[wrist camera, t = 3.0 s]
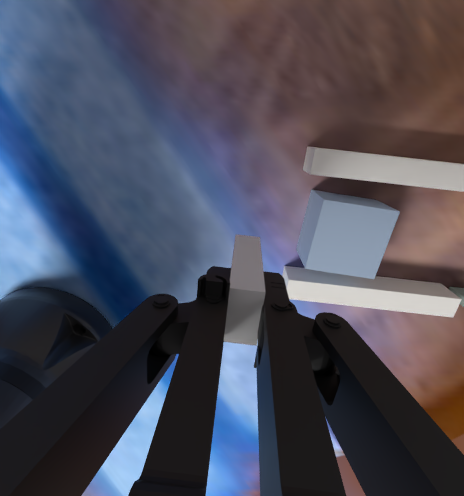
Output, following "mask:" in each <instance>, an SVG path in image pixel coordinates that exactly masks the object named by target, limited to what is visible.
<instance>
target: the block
mask: <svg viewBox="0 0 464 496" xmlns="http://www.w3.org/2000/svg"><path fill="white" fill-rule="evenodd" d="M399 213H400V211H398V210H396V209H394V208H392V207H390V206H388V205H386V204H384V203H382V202H380V201H378V200H375V199H369V198H362V197H356V196H350V195H343V194H337V193H331V192H324V191H318V190H311V193H310V197H309V201H308V205H307V209H306V213H305V217H304V221H303V225H302V229H301V233H300V237H299V241H298V245H297V248H296V250H297V252H298V254H299V257H300V259H301V261H302V263H303V265H304V268H305V269H310V270H316V271H323V272H329V273H336V274H343V275H349V276H356V277H362V278H369V279H374V278H375V276H376V273H377V271H378V268H379V265H380V263H381V260H382V257H383V255H384V252H385V250H386V247H387V244H388V242H389V239H390V237H391V234H392V231H393V229H394V226H395V224H396V221H397V218H398V216H399Z"/></svg>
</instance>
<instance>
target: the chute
mask: <svg viewBox="0 0 464 496" xmlns="http://www.w3.org/2000/svg"><path fill="white" fill-rule="evenodd" d="M303 170H304V171H305V172H307V173H308V174H311V175H319V176H328V177H337V178H346V179H355V180H364V181H373V182H382V183H391V184H399V185H408V186H417V187H426V188H435V189H444V190H453V191H462V192H464V164H460V163H451V162H443V161H434V160H425V159H416V158H407V157H398V156H389V155H380V154H371V153H363V152H354V151H345V150H336V149H327V148H318V147H309V146H307V151H306V156H305V161H304V166H303ZM282 277H283V278H284V280H285V285H286V289H287V293H288V297H289V299H294V300H303V301H312V302H321V303H330V304H339V305H347V306H356V307H365V308H374V309H383V310H392V311H401V312H410V313H419V314H428V315H436V316H445V317H454V314H455V312H456V310H457V308H458V306H459V304H460V302H461V300H462V299H461V298H459V297H458V296H457V295H455V294H454V293H453V292H451V291H450V290H449V289H448V288H446V287H445V286H444V285H442V284H441V283H433V282H424V281H415V280H406V279H398V278H389V277H380V276H375V278H374V279H369V278H362V277H356V276H349V275H343V274H336V273H329V272H323V271H316V270H310V269H305V268H300V267H291V266H284V270H283V275H282Z"/></svg>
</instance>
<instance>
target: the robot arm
mask: <svg viewBox="0 0 464 496" xmlns="http://www.w3.org/2000/svg"><path fill="white" fill-rule="evenodd" d="M257 339H258V347H257V352H256V358H255V364H254V368H257V397H258V431H259V465H260V496H346V494H345V490H344V486H343V482H342V479H341V475H340V471H339V467H338V463H337V460H336V456H335V452H334V448H333V444H332V441H331V437H330V433H329V429H328V426H327V422H326V419H327V421H328V423H329V425H330V427H331V429H332V431H333V433H334V434H335V436H336V438H337V440H338V442H339V444H340V446H341V448H342V450H343V452H344V454H345V456H346V458H347V460H348V462H349V463H350V466H351V467H352V470H353V471H354V473H355V475H356V477H357V479H358V481H359V483H360V485H361V487H362V489H363V491H364V493H365V495H366V496H464V455H463V454H462V453H461V451H460V450H459V449H457V447H456V446H455V445H454V443H453V442H452V441H451V440H450V439H449V438H448V437H447V435H446V434H445V433H444V432H443V431H442V430H441V429H440V427H439V426H438V425H437V424H436V423H435V422H434V421H433V419H432V418H431V417H430V416H429V415H428V414H427V413H426V411H425V410H424V409H423V408H422V407H421V406H420V405H419V403H418V402H417V401H416V400H415V399H414V398H413V397H412V395H411V394H410V393H409V392H408V391H407V390H406V389H405V387H404V386H403V385H402V384H401V383H400V382H399V381H398V379H397V378H396V377H395V376H394V375H393V374H392V372H391V371H390V370H389V369H388V368H387V367H386V366H385V364H384V363H383V362H382V361H381V360H380V359H379V358H378V356H377V355H376V354H375V353H374V352H373V351H372V350H371V348H370V347H369V346H368V345H367V344H366V343H365V342H364V340H363V339H362V338H361V337H360V336H359V335H358V334H357V332H356V331H355V330H354V329H353V328H352V327H351V326H350V324H349V323H348V322H347V321H346V320H344V319H343V318H342V317H340V316H338V315H336V314H333V313H325V312H324V313H319V314H318V315H316V318H315V320H314V319H311V318H308V317H305V316H302V315H300V314H299V313H297V309H296V307H295V305H294V304H292V303H291V302H290V301H289V297H288V293H287V289H286V285H285V280H284V278H283V277H282V276H281V275H280V274H279V273H272V272H263V263H262V254H261V244H260V237H253V236H245V235H236V236H235V244H234V252H233V259H232V267H231V268H223V267H215V266H213V267H211V268H210V269H209V270H208V271H207V274H206V275H203V276H201V277H200V278H199V279H198V290H197V298H196V300H194V301H192V302H189V303H180V304H178V301H177V299H176V298H175V297H174V296H171V295H168V294H156V295H153V296H150V297H149V298H147V299H146V300H145V301H143V302H142V303H141V304H140V305H139V306H138V307H137V308H136V309H134V310H133V311H132V312H131V313H130V314H129V315H128V316H127V317H125V318H124V319H123V320H122V321H121V322H120V323H119V324H118V325H117V326H115V327H114V328H113V329H112V328H111V326H110V325H109V323H108V322H107V321H106V319H105V318H104V317H103V316H102V315H101V314H100V313H99V312H98V311H97V310H96V309H94V308H93V307H92V306H91V305H89V304H88V303H86V302H85V301H83V300H81V299H79V298H78V297H76V296H73V295H71V294H69V293H66V292H63V291H59V290H55V289H50V288H26V289H21V290H18V291H15V292H13V293H11V294H9V295H7V296H6V297H4V298H3V299H1V300H0V496H81V495H82V494H83V492H84V491H85V489H86V488H87V487H88V485H89V484H90V482H91V481H92V479H93V478H94V476H95V475H96V473H97V472H98V470H99V469H100V467H101V466H102V465H103V463H104V462H105V460H106V459H107V457H108V456H109V454H110V453H111V451H112V450H113V448H114V447H115V446H116V444H117V443H118V441H119V440H120V438H121V437H122V435H123V434H124V432H125V431H126V429H127V428H128V426H129V425H130V424H131V422H132V421H133V419H134V418H135V416H136V415H137V413H138V412H139V410H140V409H141V407H142V406H143V404H144V403H145V402H146V400H147V399H148V397H149V396H150V394H151V393H152V391H153V390H154V388H155V387H156V385H157V384H158V382H159V381H160V380H161V378H162V377H163V375H164V374H165V372H166V371H167V369H168V368H169V366H170V365H171V363H172V362H173V361H174V359H175V356H176V354H179V356H178V359H177V362H176V366H175V369H174V372H173V375H172V378H171V382H170V385H169V388H168V391H167V394H166V398H165V401H164V404H163V407H162V410H161V414H160V417H159V420H158V423H157V426H156V430H155V433H154V436H153V439H152V442H151V446H150V449H149V452H148V455H147V458H146V462H145V465H144V468H143V471H142V474H141V476H140V478H139V479H138V480H137V481H135V482H134V484H133V486H132V488H131V490H130V493H129V495H128V496H205V495H206V486H207V478H208V469H209V461H210V452H211V444H212V435H213V427H214V418H215V410H216V401H217V393H218V384H219V376H220V367H221V359H222V350H223V342H231V343H239V344H247V345H255V346H256V345H257ZM325 417H326V418H325Z"/></svg>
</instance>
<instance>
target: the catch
mask: <svg viewBox="0 0 464 496" xmlns="http://www.w3.org/2000/svg"><path fill="white" fill-rule="evenodd" d="M449 290H450V291H451V292H453V293H454V294H455V295H457V296H458V297H459V298H461V299H462V300H461V302H460V304H461V305H462V306H463V307H464V288H458V287H449Z"/></svg>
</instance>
